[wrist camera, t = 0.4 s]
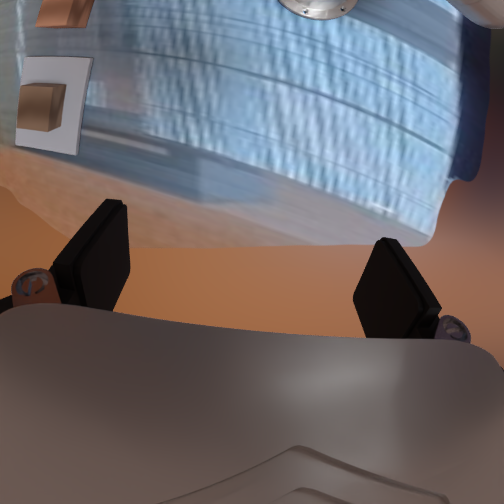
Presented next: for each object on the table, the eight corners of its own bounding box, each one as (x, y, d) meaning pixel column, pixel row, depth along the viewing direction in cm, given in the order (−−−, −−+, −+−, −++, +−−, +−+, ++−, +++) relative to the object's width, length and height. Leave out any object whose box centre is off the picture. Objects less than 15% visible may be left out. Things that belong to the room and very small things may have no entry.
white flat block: (28, 56, 32) (10, 58, 27) (93, 58, 34) (77, 58, 30) (18, 143, 40) (2, 151, 36) (78, 153, 42) (63, 163, 38)
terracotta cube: (66, -5, 27) (46, -10, 22) (96, -7, 28) (77, -13, 23) (56, 28, 30) (35, 26, 25) (85, 27, 31) (65, 25, 26)
